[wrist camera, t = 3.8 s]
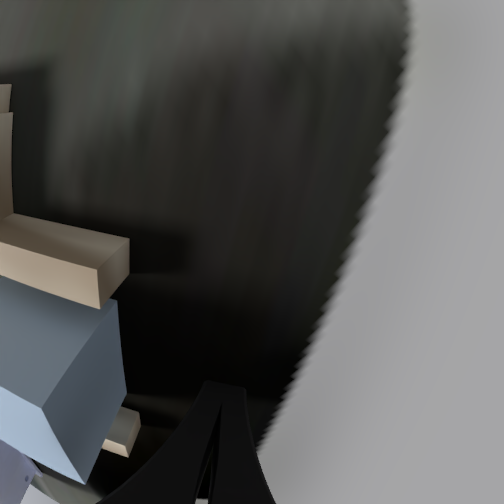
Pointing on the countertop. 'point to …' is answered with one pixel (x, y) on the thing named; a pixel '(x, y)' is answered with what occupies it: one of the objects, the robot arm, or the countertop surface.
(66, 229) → the beige flat frame
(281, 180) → the countertop surface
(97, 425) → the block
